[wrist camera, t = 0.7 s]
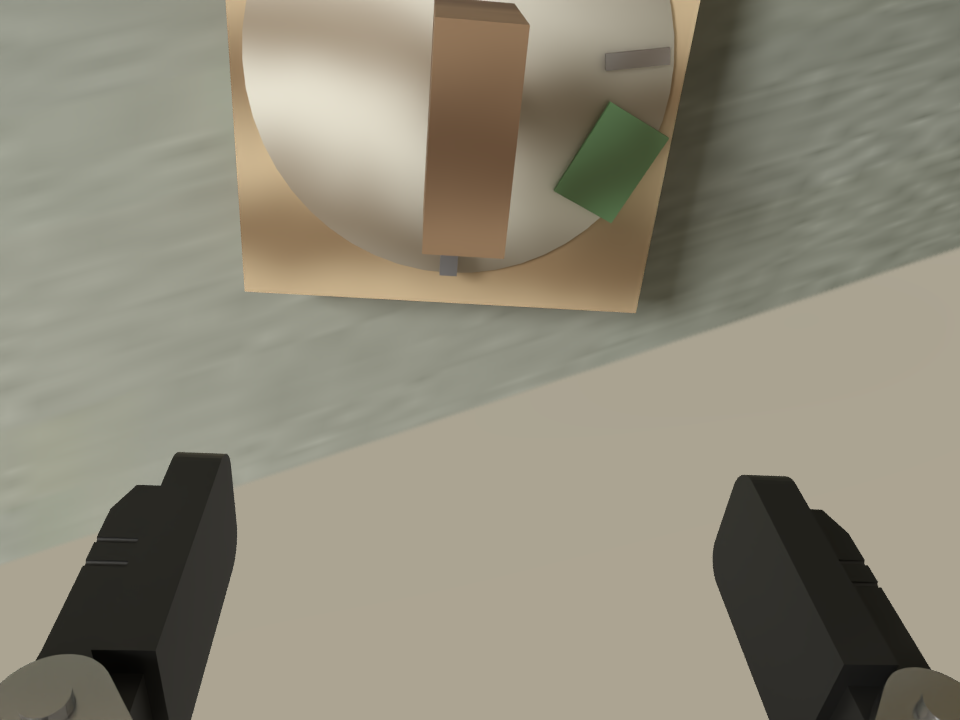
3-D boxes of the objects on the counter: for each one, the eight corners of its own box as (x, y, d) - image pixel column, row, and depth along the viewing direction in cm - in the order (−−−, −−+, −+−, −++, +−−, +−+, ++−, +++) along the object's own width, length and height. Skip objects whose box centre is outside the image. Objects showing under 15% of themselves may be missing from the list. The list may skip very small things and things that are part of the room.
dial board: (235, -250, 28) (204, -271, 24) (707, -196, 30) (747, -209, 26) (261, 254, 38) (243, 295, 34) (617, 275, 39) (637, 317, 35)
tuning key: (434, -21, 28) (434, 17, 20) (501, -15, 28) (529, 24, 20) (418, 263, 34) (415, 382, 26) (475, 266, 34) (489, 385, 26)
